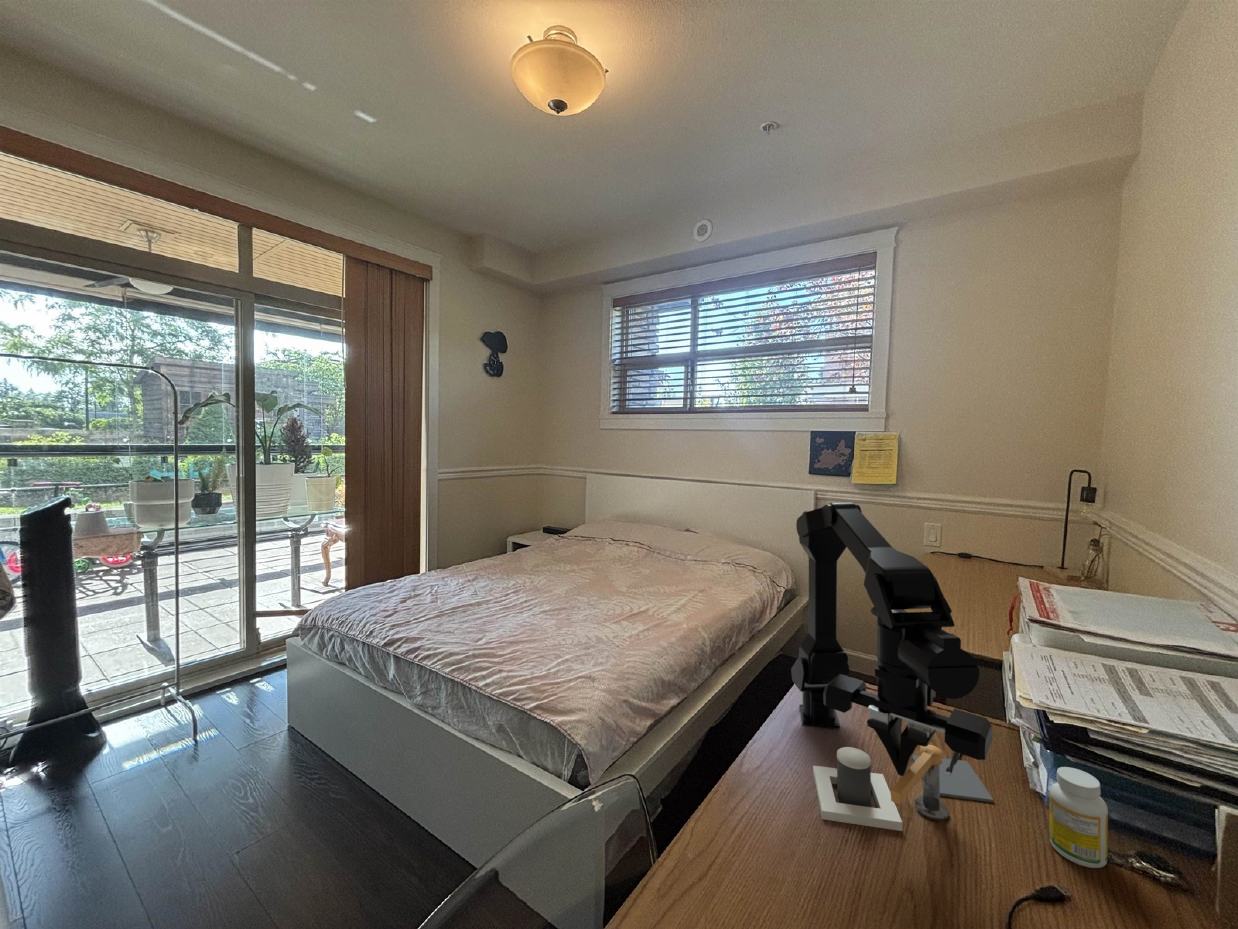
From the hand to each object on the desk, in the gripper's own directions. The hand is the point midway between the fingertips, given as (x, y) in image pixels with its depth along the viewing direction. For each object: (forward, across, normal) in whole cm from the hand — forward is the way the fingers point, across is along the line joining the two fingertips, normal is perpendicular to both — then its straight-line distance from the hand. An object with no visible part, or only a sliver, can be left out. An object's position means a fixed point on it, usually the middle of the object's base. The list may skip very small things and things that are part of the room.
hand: (901, 774), depth 66 cm
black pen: (+8, -2, -22) cm, 24 cm away
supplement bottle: (+8, -17, -11) cm, 21 cm away
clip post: (+8, -2, -7) cm, 10 cm away
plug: (+8, +7, -2) cm, 10 cm away
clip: (0, -1, -1) cm, 2 cm away
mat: (+8, -2, -16) cm, 18 cm away
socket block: (+8, +7, -2) cm, 10 cm away
